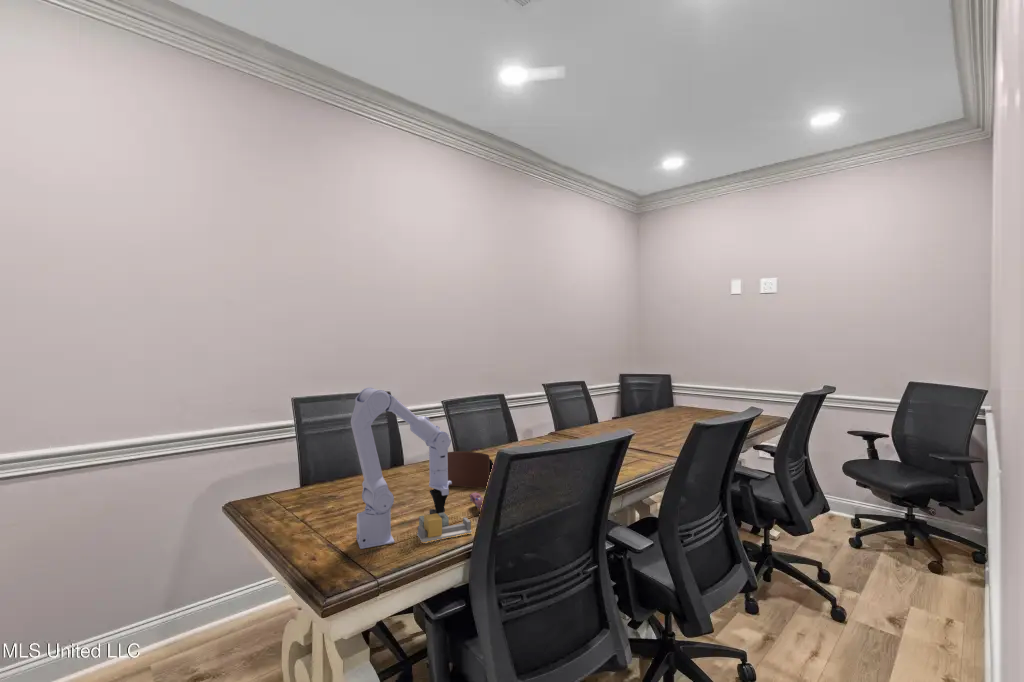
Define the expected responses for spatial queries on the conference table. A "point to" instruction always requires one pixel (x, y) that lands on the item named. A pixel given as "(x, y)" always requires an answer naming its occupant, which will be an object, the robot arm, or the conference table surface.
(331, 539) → the conference table surface
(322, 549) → the conference table surface
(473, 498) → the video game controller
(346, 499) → the conference table surface
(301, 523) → the conference table surface
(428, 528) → the carriage
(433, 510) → the dark lever handle
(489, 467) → the letter holder
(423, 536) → the rail
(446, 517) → the lever base
